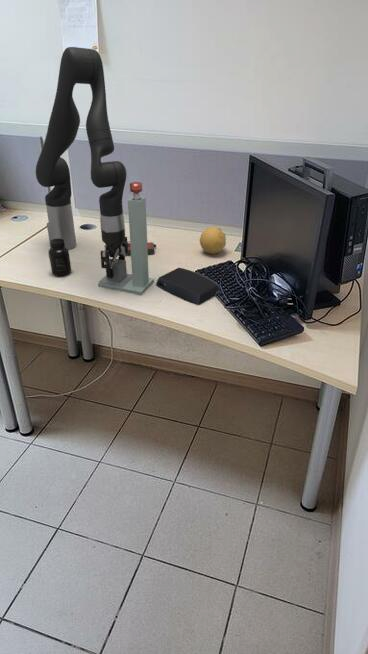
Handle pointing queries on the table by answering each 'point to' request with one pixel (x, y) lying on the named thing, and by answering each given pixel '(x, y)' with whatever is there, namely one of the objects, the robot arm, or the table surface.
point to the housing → (119, 271)
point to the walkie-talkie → (149, 246)
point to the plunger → (136, 189)
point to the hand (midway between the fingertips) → (116, 272)
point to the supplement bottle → (59, 258)
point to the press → (135, 252)
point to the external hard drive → (188, 285)
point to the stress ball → (212, 240)
